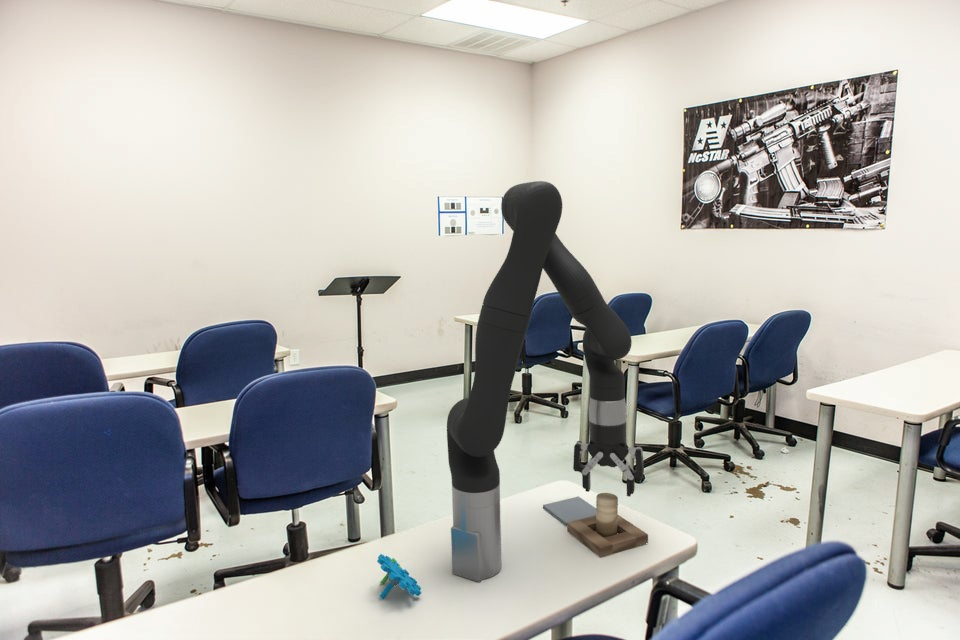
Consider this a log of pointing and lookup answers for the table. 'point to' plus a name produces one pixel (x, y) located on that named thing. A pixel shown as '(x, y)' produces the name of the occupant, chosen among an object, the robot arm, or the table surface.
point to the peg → (606, 514)
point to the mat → (570, 509)
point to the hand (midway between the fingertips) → (608, 492)
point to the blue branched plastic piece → (396, 577)
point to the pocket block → (601, 546)
